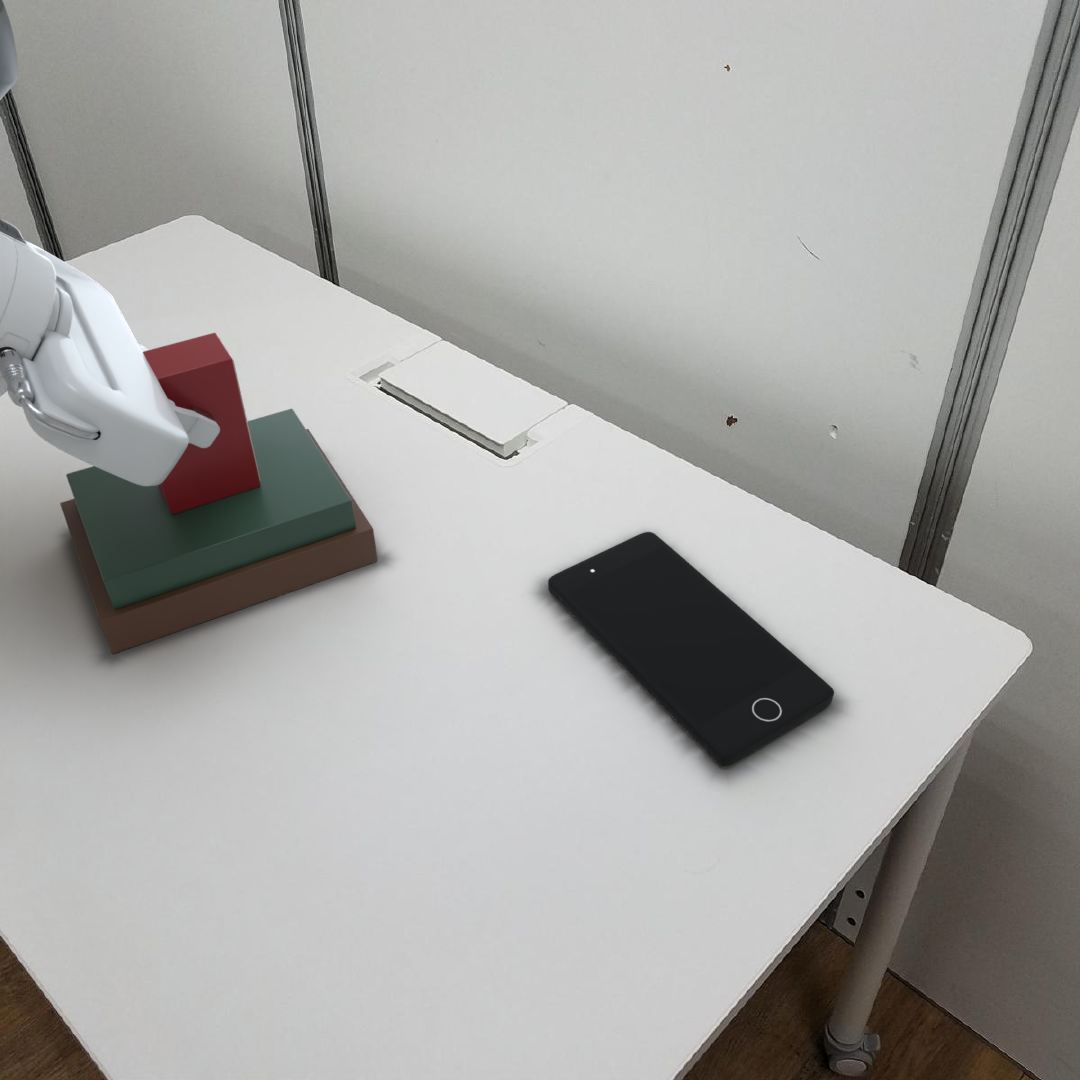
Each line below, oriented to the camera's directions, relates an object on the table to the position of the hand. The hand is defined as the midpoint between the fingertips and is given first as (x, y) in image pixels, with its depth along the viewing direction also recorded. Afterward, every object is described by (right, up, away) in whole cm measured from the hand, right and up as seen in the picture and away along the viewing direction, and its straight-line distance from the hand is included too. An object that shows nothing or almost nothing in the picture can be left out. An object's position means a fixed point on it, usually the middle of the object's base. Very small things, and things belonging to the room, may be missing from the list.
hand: (200, 413), depth 71 cm
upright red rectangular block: (0, -4, +4) cm, 6 cm away
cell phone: (+31, -15, 0) cm, 34 cm away
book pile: (-1, -9, +7) cm, 11 cm away
